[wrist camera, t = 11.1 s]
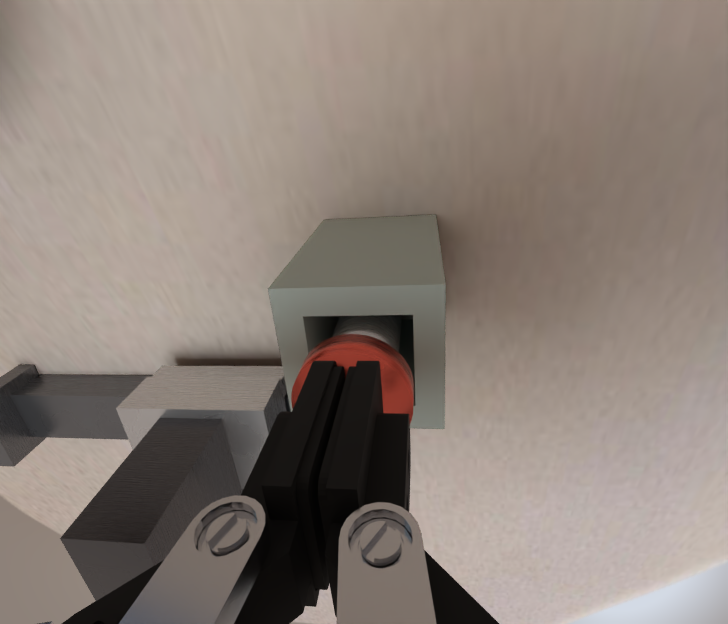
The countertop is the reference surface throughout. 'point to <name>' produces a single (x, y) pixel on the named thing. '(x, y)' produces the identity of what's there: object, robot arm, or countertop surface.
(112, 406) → the rail
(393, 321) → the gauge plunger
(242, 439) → the carriage
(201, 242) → the countertop surface
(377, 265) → the grey square housing
